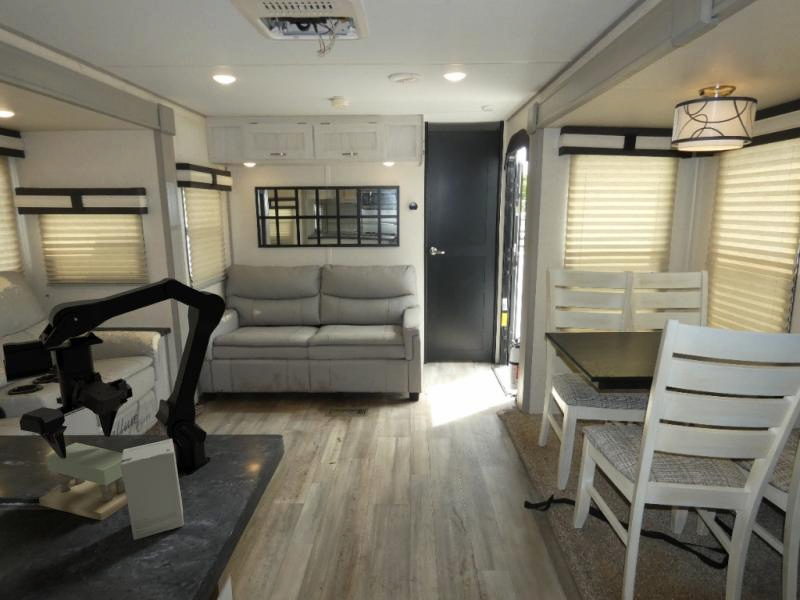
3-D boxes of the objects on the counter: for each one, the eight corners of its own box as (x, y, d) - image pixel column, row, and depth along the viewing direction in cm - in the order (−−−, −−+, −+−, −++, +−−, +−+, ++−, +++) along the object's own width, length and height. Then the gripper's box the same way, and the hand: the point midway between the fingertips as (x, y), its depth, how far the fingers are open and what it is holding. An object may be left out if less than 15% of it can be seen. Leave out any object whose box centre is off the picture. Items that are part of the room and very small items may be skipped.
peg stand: (146, 490, 97) (143, 463, 96) (102, 520, 87) (97, 490, 86) (87, 478, 102) (84, 452, 101) (40, 505, 93) (35, 476, 91)
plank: (47, 470, 94) (45, 456, 93) (77, 455, 99) (75, 442, 99) (105, 485, 88) (103, 470, 87) (134, 469, 93) (132, 455, 93)
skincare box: (182, 510, 90) (175, 436, 88) (184, 528, 85) (175, 450, 82) (132, 522, 87) (122, 446, 84) (130, 542, 81) (120, 462, 79)
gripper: (58, 391, 79) (70, 478, 81) (149, 359, 96) (157, 432, 99) (11, 384, 82) (24, 468, 85) (107, 354, 100) (116, 425, 102)
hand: (86, 446), depth 93 cm, fingers open, 9 cm apart
